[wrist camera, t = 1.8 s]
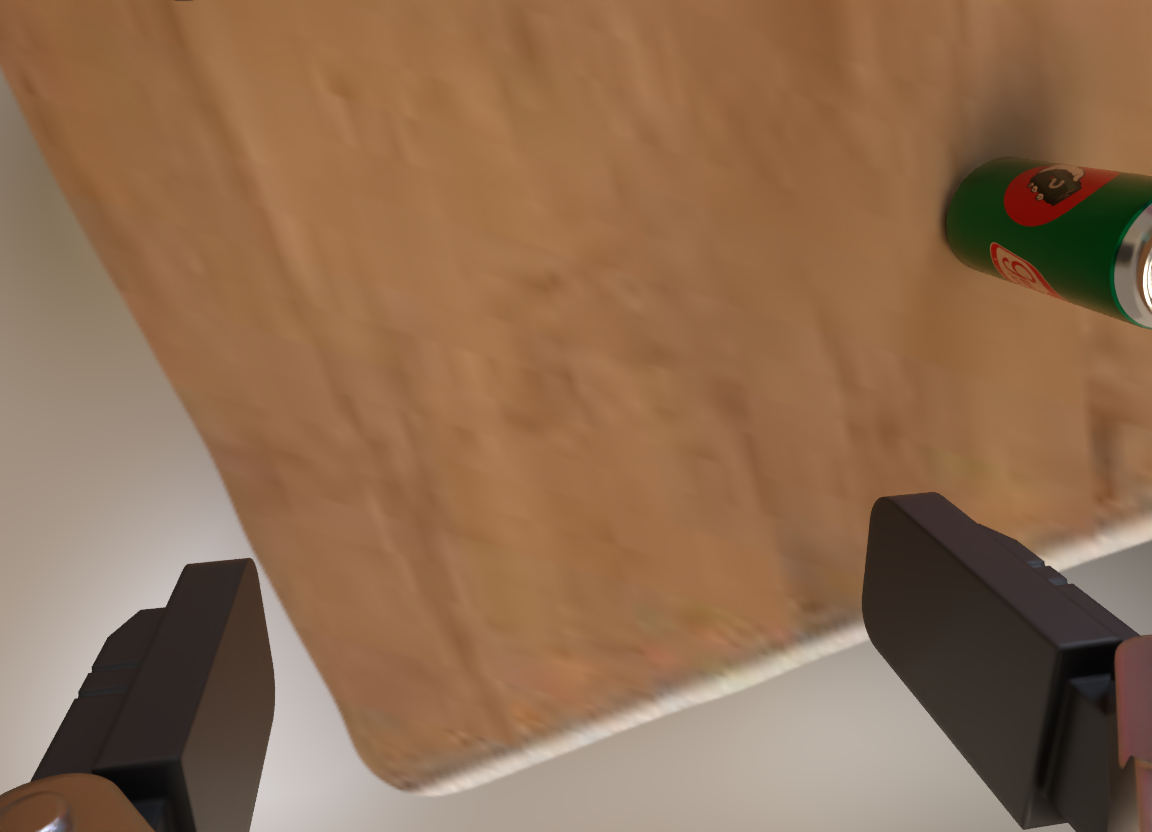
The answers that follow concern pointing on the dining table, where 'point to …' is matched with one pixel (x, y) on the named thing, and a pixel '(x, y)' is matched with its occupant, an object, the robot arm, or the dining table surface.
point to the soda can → (1060, 233)
